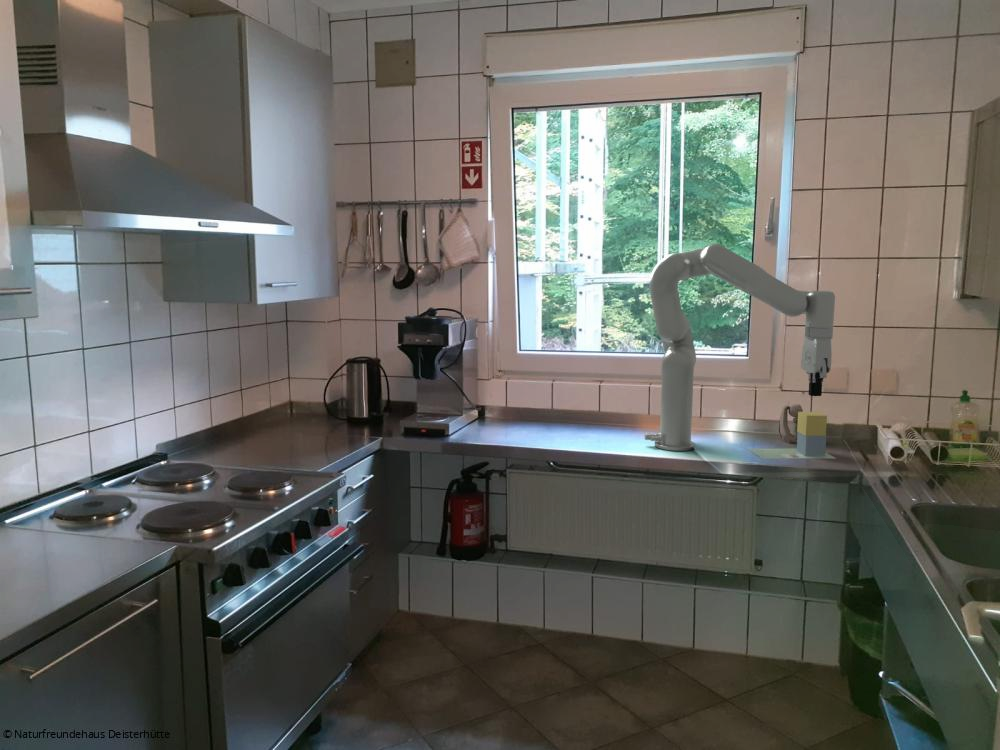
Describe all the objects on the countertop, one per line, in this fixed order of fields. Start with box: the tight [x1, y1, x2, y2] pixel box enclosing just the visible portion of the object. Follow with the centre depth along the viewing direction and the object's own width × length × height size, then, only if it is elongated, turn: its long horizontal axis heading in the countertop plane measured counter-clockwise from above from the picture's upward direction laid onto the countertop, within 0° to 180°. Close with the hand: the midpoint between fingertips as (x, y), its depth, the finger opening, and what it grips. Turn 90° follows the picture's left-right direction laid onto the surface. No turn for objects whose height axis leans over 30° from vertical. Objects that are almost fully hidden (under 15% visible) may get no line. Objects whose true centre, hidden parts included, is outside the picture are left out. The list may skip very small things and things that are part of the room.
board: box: [747, 448, 837, 460], centre depth 230 cm, size 22×12×1 cm, turn 93°
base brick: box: [796, 432, 827, 456], centre depth 230 cm, size 6×6×6 cm
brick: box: [797, 411, 828, 437], centre depth 229 cm, size 6×6×6 cm
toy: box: [778, 401, 804, 444], centre depth 247 cm, size 9×8×15 cm
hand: (814, 395), depth 228 cm, fingers closed
